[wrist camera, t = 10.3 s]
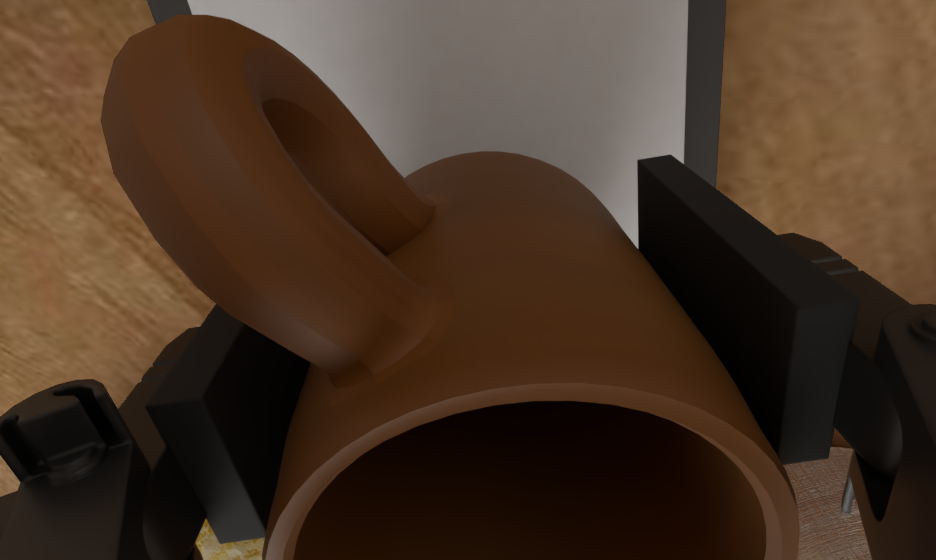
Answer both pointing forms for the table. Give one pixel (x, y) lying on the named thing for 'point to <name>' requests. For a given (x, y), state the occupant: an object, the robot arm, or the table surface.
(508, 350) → the mug
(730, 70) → the table surface
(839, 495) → the planter
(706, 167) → the scale
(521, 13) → the scale pan
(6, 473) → the table surface
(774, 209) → the table surface
